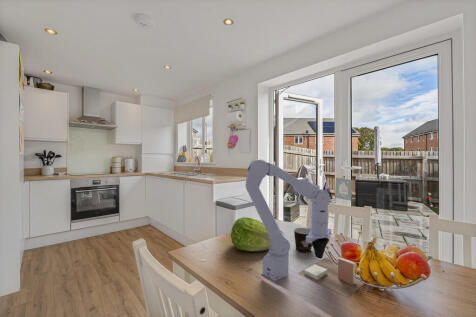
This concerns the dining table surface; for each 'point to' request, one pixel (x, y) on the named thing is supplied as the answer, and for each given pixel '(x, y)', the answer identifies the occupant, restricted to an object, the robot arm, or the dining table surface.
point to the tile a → (315, 272)
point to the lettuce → (250, 235)
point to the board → (334, 279)
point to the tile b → (346, 270)
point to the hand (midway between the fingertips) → (318, 257)
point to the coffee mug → (302, 240)
